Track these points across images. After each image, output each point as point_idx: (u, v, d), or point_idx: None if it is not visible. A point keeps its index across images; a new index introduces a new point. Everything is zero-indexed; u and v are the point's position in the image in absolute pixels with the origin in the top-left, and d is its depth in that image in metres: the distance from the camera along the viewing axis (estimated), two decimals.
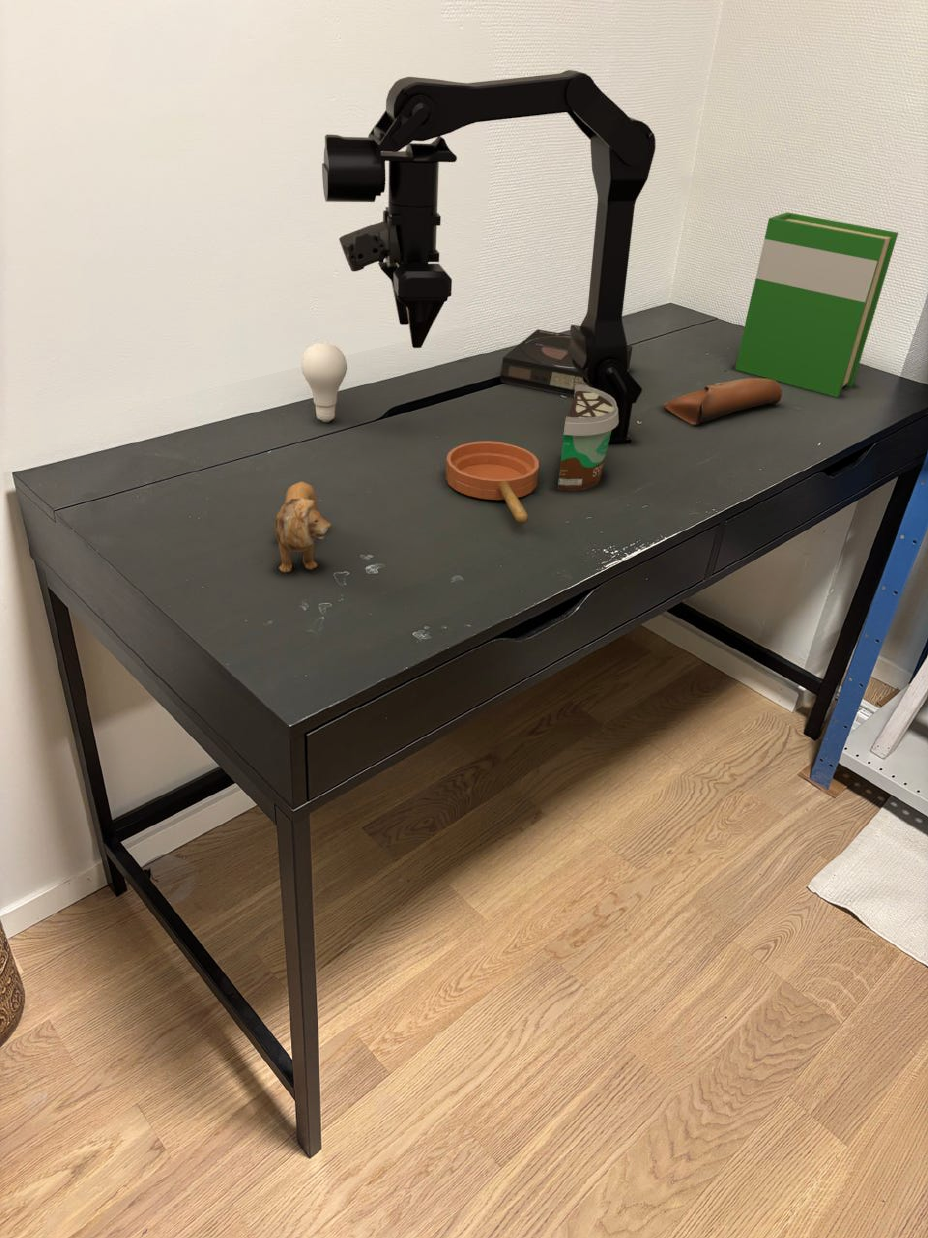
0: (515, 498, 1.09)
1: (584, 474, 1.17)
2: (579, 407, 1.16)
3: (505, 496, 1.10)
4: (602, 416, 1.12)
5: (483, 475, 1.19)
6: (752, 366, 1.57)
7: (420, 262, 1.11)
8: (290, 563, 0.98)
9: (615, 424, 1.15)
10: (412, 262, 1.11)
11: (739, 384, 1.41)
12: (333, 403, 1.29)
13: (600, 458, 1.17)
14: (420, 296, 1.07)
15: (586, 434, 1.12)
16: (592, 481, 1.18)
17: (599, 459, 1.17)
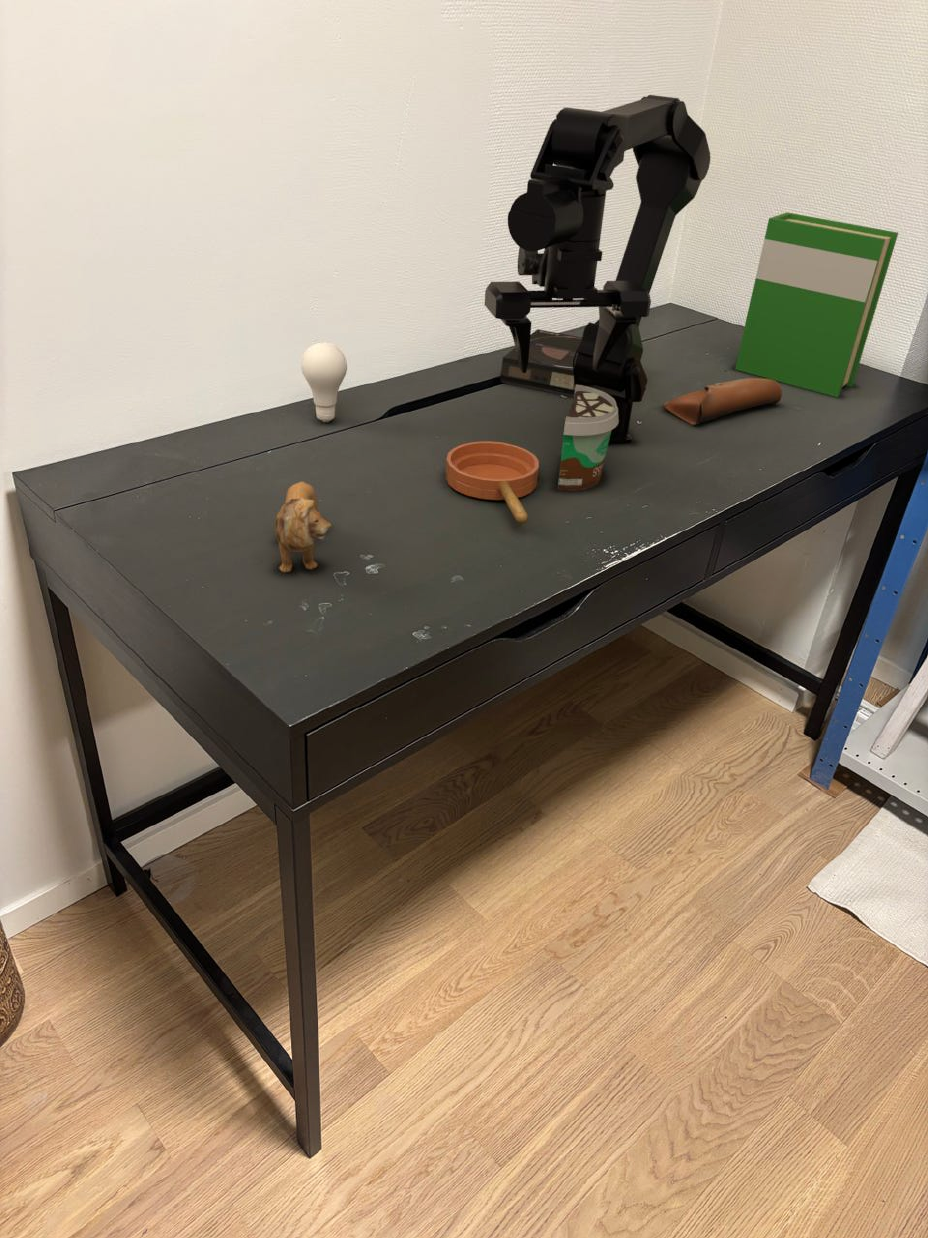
0: (515, 498, 1.09)
1: (584, 474, 1.17)
2: (579, 407, 1.16)
3: (505, 496, 1.10)
4: (602, 416, 1.12)
5: (483, 475, 1.19)
6: (752, 366, 1.57)
7: (546, 292, 1.08)
8: (290, 563, 0.98)
9: (615, 424, 1.15)
10: (544, 289, 1.09)
11: (739, 384, 1.41)
12: (333, 403, 1.29)
13: (600, 458, 1.17)
14: (488, 308, 1.09)
15: (586, 434, 1.12)
16: (592, 481, 1.18)
17: (599, 459, 1.17)
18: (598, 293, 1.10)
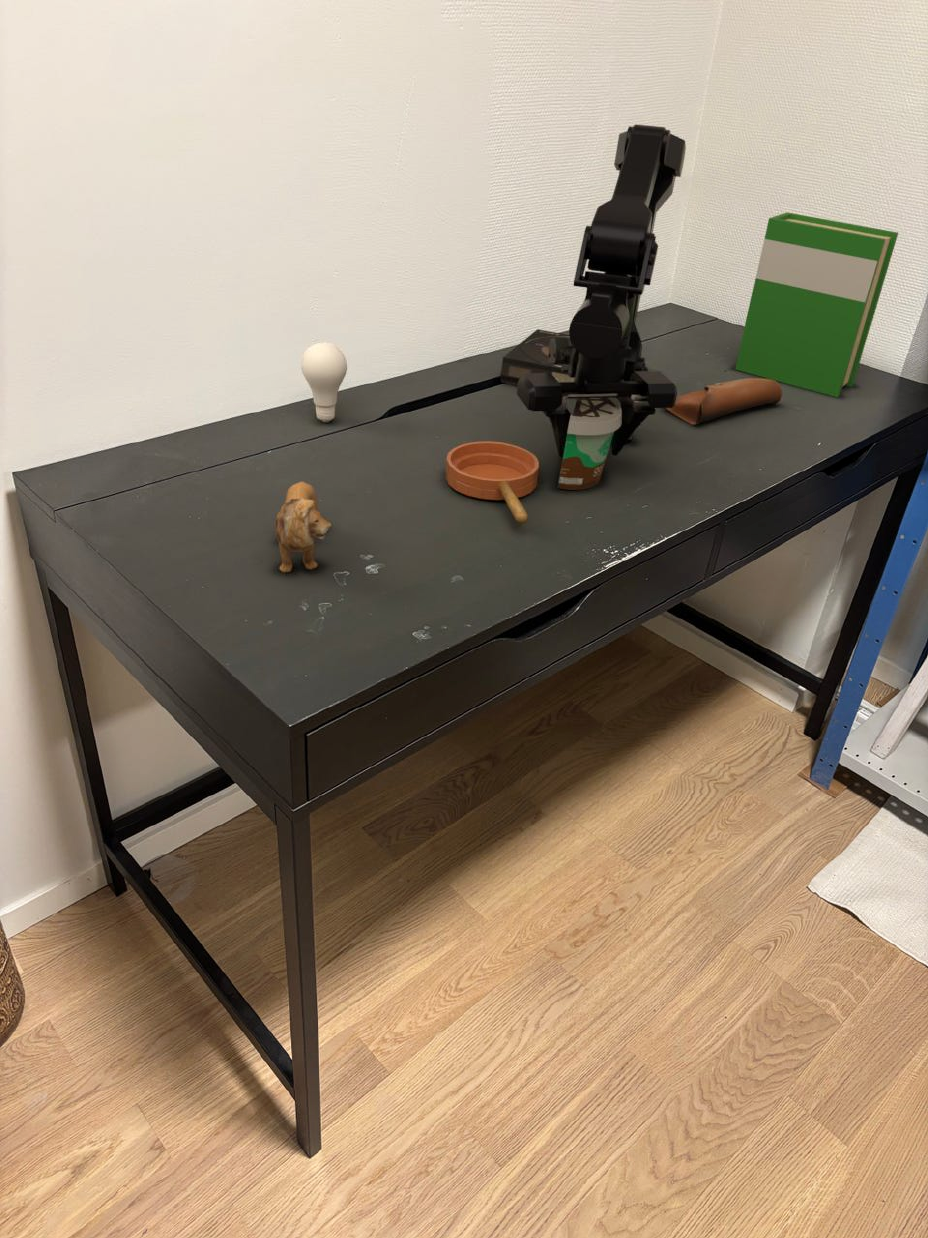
0: (515, 498, 1.09)
1: (585, 474, 1.17)
2: (583, 406, 1.16)
3: (505, 496, 1.10)
4: (606, 416, 1.12)
5: (483, 475, 1.19)
6: (752, 366, 1.57)
7: (577, 384, 1.13)
8: (290, 563, 0.98)
9: (618, 425, 1.15)
10: None
11: (739, 384, 1.42)
12: (333, 403, 1.29)
13: (601, 458, 1.17)
14: (521, 399, 1.14)
15: (590, 434, 1.12)
16: (592, 481, 1.18)
17: (600, 459, 1.17)
18: (626, 385, 1.14)
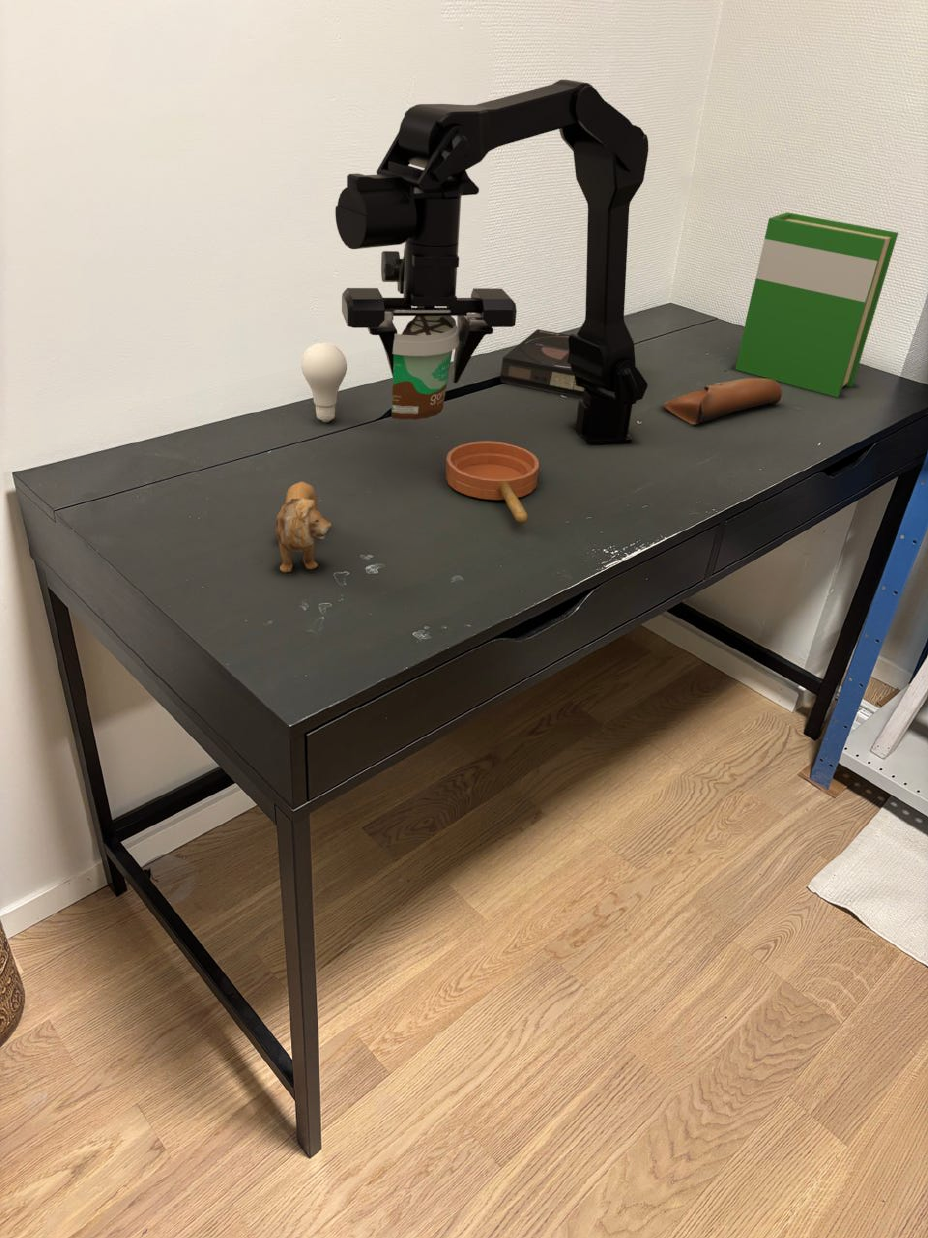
0: (515, 498, 1.09)
1: (420, 401, 1.06)
2: (415, 326, 1.05)
3: (505, 496, 1.10)
4: (436, 335, 1.02)
5: (483, 475, 1.19)
6: (752, 366, 1.57)
7: (405, 299, 1.03)
8: (290, 563, 0.98)
9: (453, 346, 1.04)
10: None
11: (739, 384, 1.42)
12: (333, 403, 1.29)
13: (438, 384, 1.07)
14: (344, 316, 1.03)
15: (418, 354, 1.02)
16: (431, 410, 1.08)
17: (437, 385, 1.06)
18: (461, 301, 1.04)
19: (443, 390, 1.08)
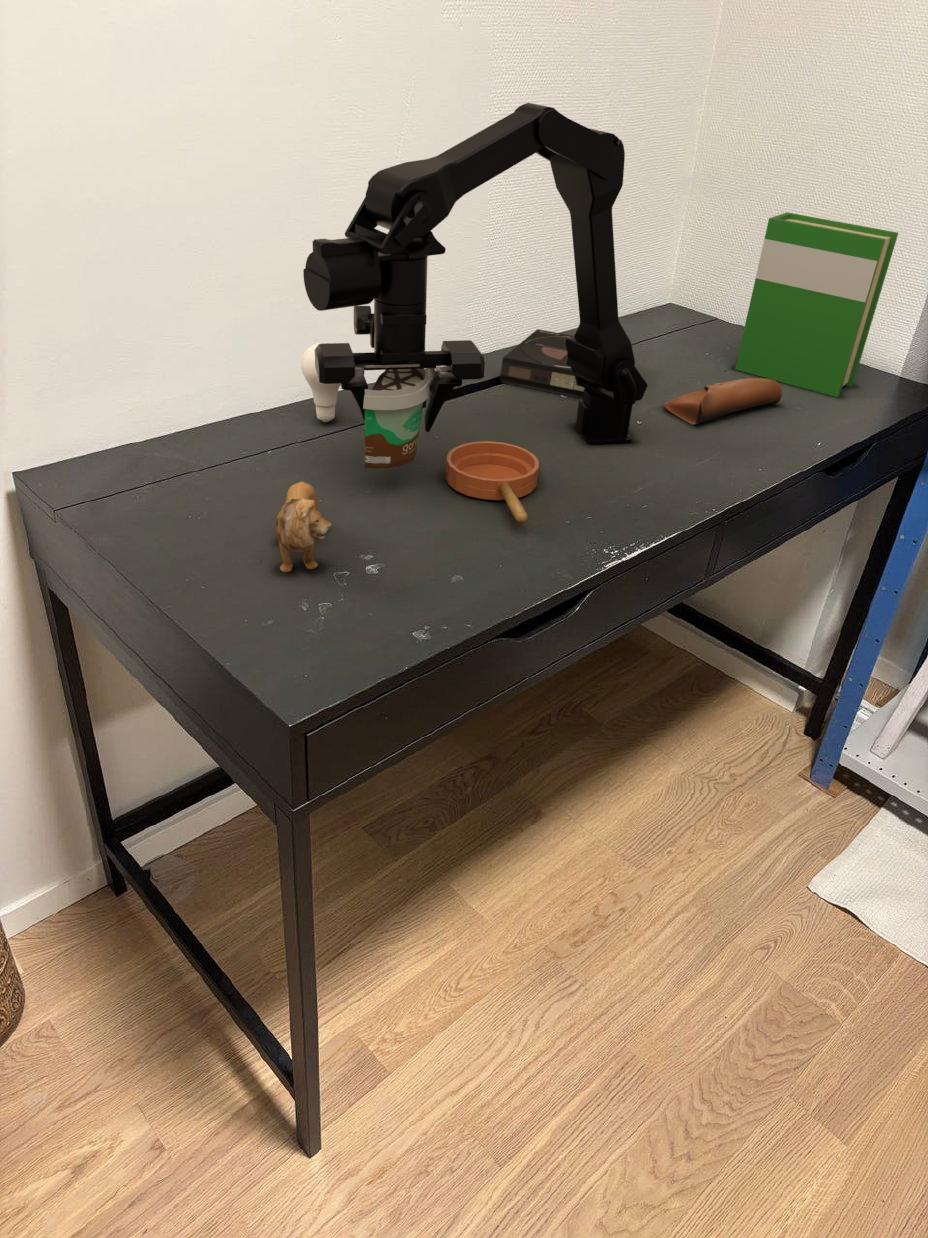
0: (515, 498, 1.09)
1: (392, 452, 1.09)
2: (386, 379, 1.08)
3: (505, 496, 1.10)
4: (406, 389, 1.05)
5: (483, 475, 1.19)
6: (752, 366, 1.57)
7: (375, 354, 1.06)
8: (291, 563, 0.98)
9: (423, 398, 1.07)
10: None
11: (739, 384, 1.42)
12: (333, 403, 1.29)
13: (410, 435, 1.09)
14: (316, 371, 1.06)
15: (388, 408, 1.05)
16: (403, 459, 1.11)
17: (408, 436, 1.09)
18: (430, 355, 1.07)
19: (415, 439, 1.11)
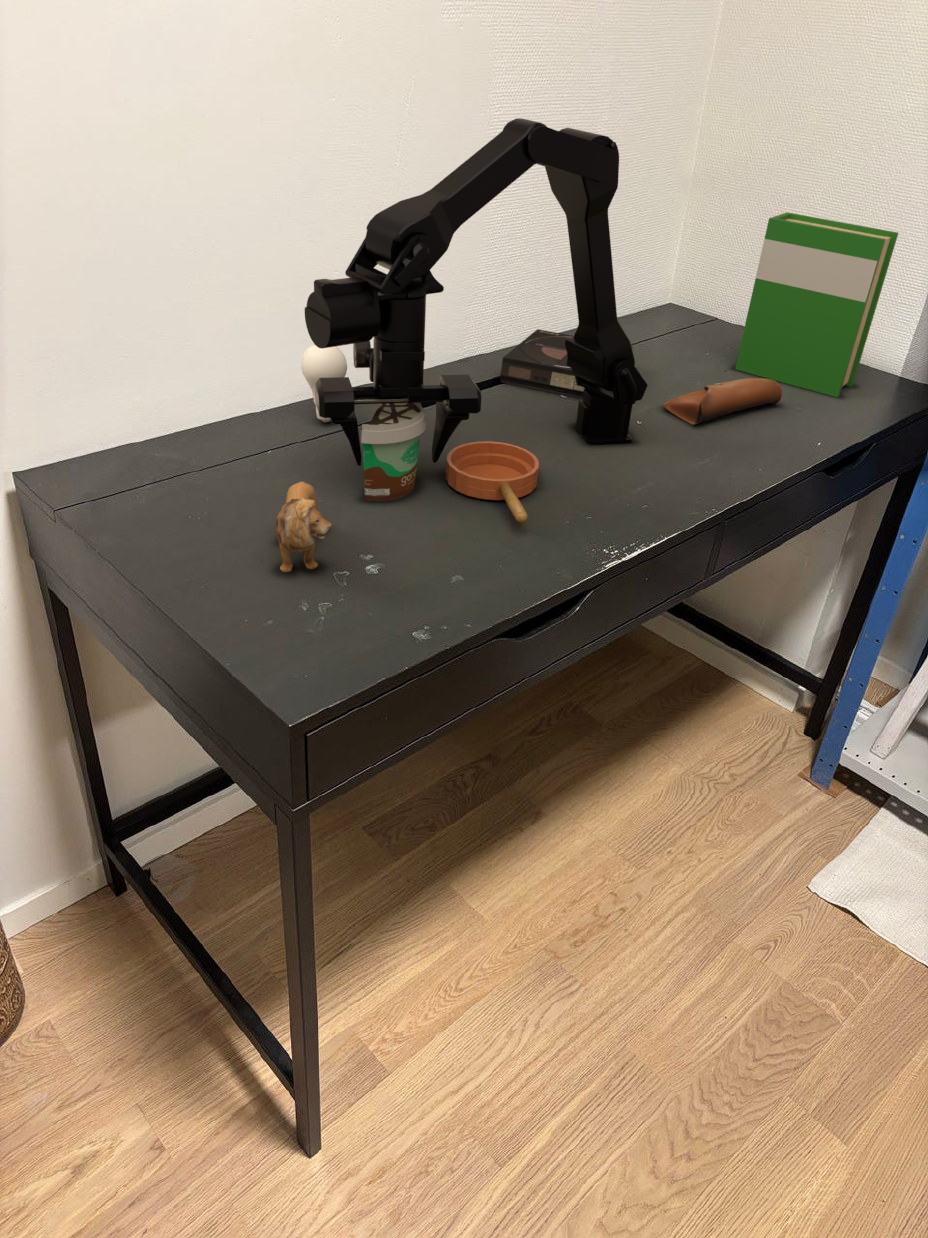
0: (515, 498, 1.09)
1: (391, 484, 1.12)
2: (383, 413, 1.11)
3: (505, 496, 1.10)
4: (402, 423, 1.07)
5: (483, 475, 1.19)
6: (752, 366, 1.57)
7: (374, 389, 1.08)
8: (291, 563, 0.98)
9: (420, 431, 1.10)
10: None
11: (739, 384, 1.42)
12: None
13: (408, 467, 1.12)
14: None
15: (385, 442, 1.07)
16: (402, 491, 1.13)
17: (407, 468, 1.12)
18: (428, 389, 1.09)
19: (413, 471, 1.13)
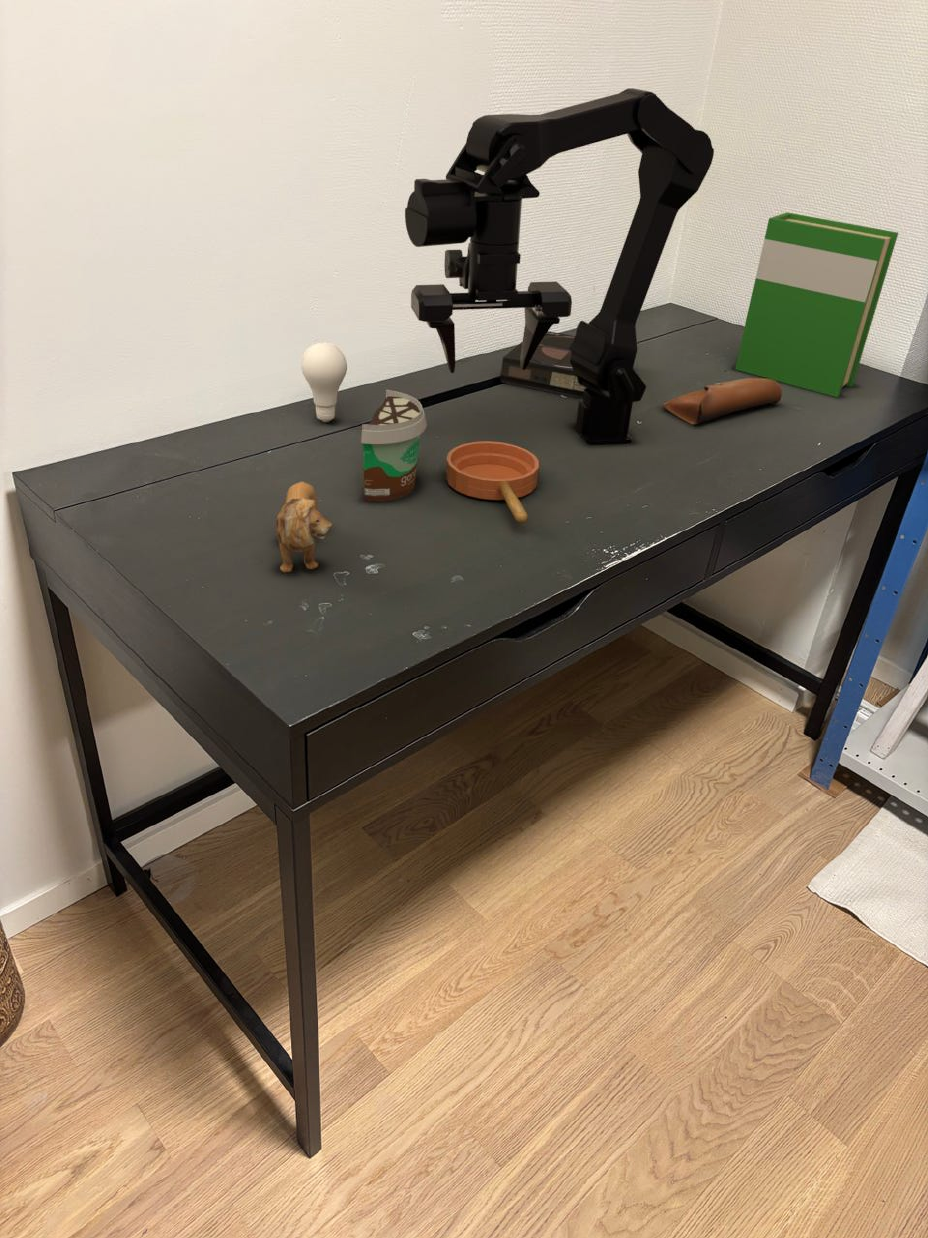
0: (515, 498, 1.09)
1: (391, 484, 1.12)
2: (383, 413, 1.11)
3: (505, 496, 1.10)
4: (402, 423, 1.07)
5: (483, 475, 1.19)
6: (752, 366, 1.57)
7: (469, 294, 1.12)
8: (291, 563, 0.98)
9: (420, 431, 1.10)
10: None
11: (739, 384, 1.42)
12: (333, 403, 1.29)
13: (408, 467, 1.12)
14: (413, 311, 1.13)
15: (385, 442, 1.07)
16: (402, 491, 1.13)
17: (407, 468, 1.12)
18: (520, 294, 1.13)
19: (413, 471, 1.13)
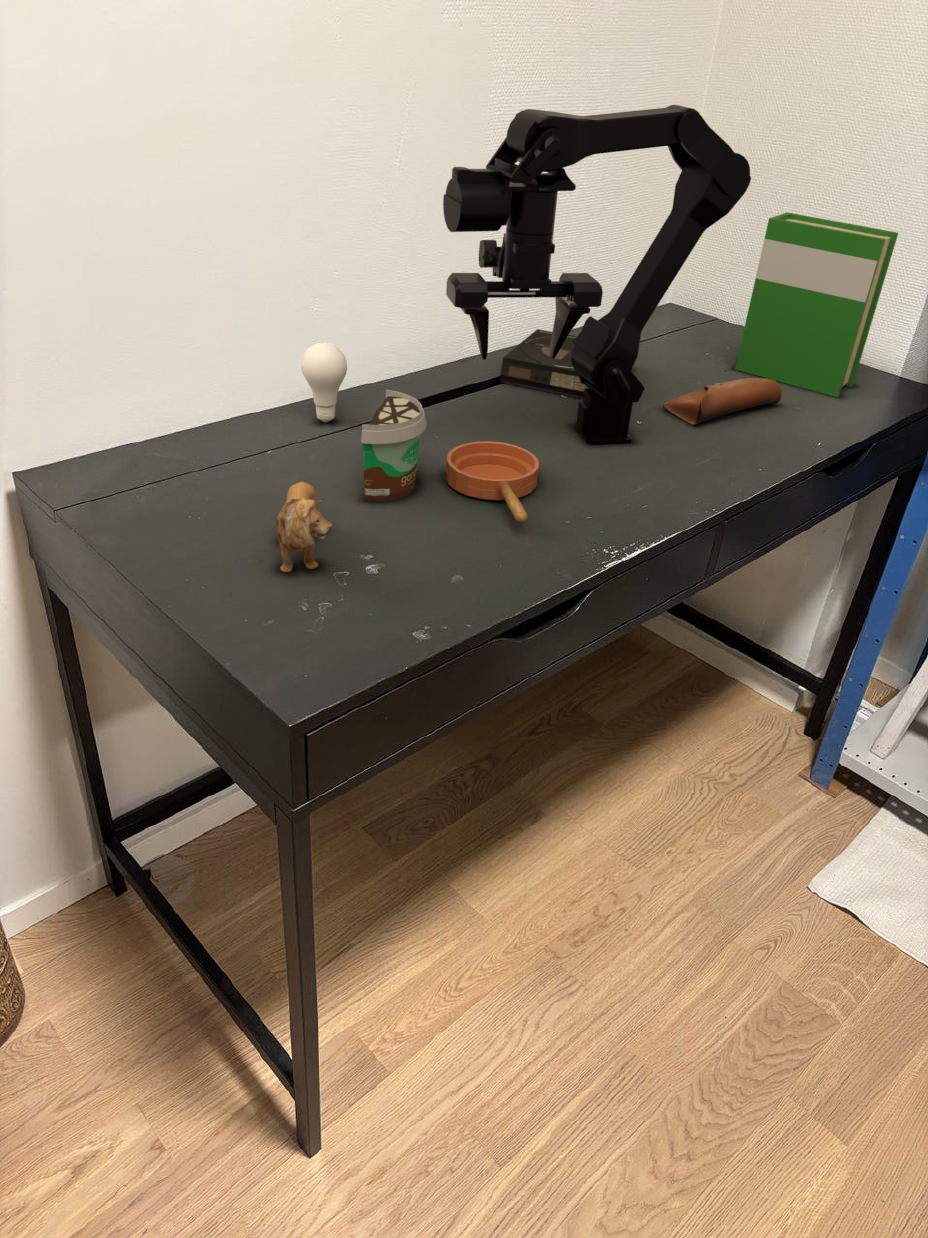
0: (515, 498, 1.09)
1: (391, 484, 1.12)
2: (383, 413, 1.11)
3: (505, 496, 1.10)
4: (402, 423, 1.07)
5: (483, 475, 1.19)
6: (752, 366, 1.57)
7: (504, 283, 1.15)
8: (291, 563, 0.98)
9: (419, 431, 1.10)
10: None
11: (739, 384, 1.42)
12: (333, 403, 1.29)
13: (408, 467, 1.12)
14: (449, 298, 1.16)
15: (385, 442, 1.07)
16: (402, 491, 1.13)
17: (407, 468, 1.12)
18: (553, 284, 1.17)
19: (413, 471, 1.13)
